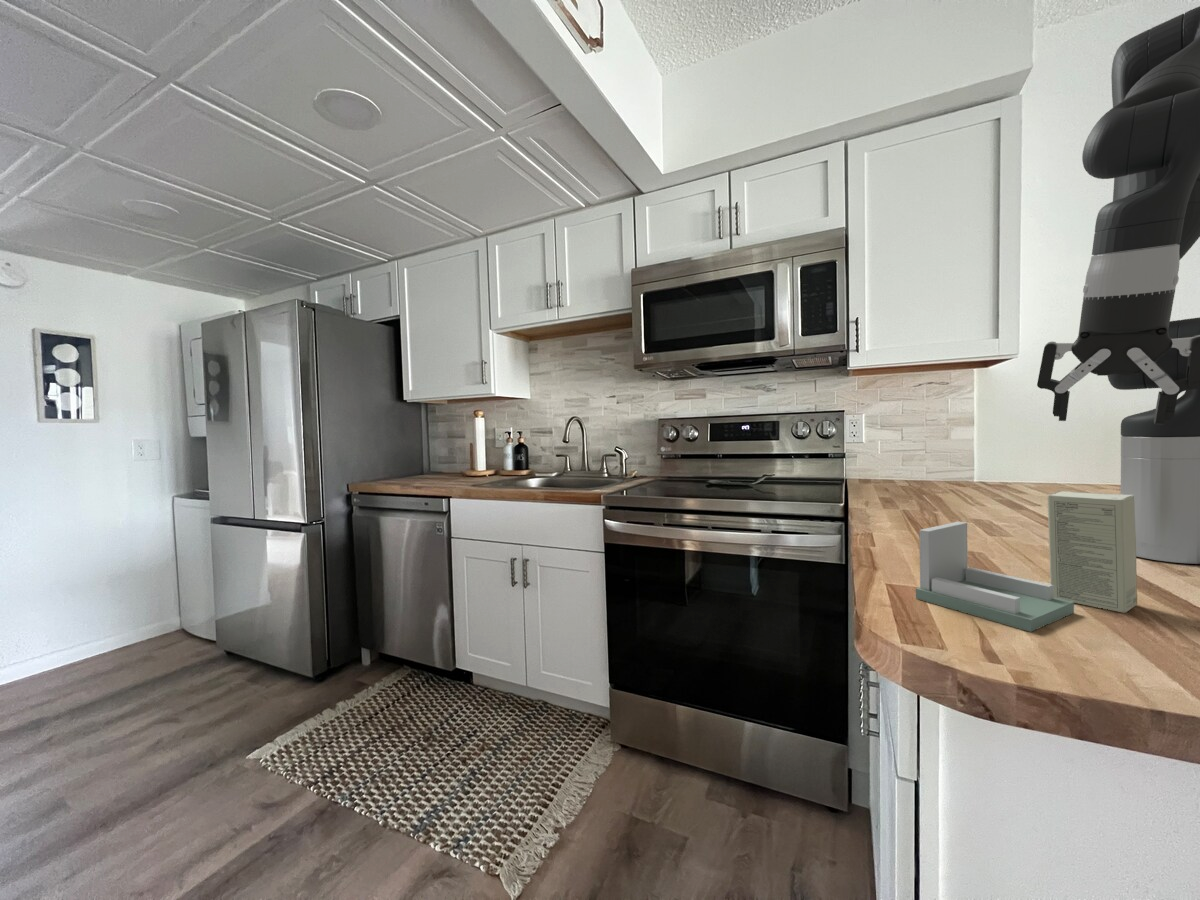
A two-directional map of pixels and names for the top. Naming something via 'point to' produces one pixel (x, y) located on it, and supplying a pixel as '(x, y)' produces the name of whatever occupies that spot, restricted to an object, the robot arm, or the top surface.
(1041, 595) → the deck socket
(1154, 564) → the top surface
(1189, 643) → the top surface
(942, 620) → the top surface
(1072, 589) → the skincare box
